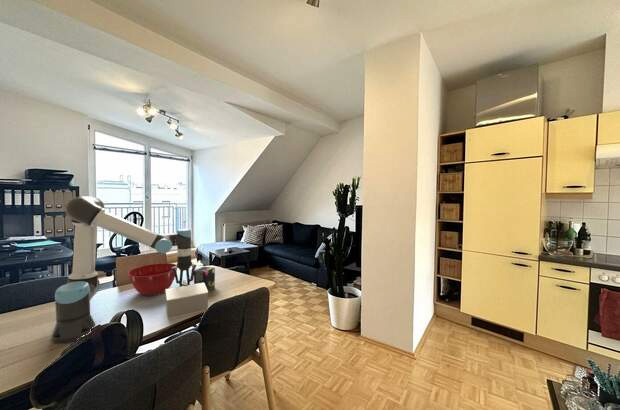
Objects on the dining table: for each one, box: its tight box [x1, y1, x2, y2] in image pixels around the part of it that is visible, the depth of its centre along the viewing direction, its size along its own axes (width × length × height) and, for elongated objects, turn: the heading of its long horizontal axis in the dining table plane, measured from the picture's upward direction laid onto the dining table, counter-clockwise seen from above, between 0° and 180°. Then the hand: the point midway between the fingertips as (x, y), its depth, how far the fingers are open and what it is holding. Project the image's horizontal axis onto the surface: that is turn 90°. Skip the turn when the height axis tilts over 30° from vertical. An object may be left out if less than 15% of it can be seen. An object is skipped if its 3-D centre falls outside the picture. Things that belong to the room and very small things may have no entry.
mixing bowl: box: [127, 262, 179, 297], centre depth 168 cm, size 28×28×15 cm
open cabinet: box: [165, 292, 209, 320], centre depth 144 cm, size 20×12×10 cm, turn 123°
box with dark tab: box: [165, 279, 209, 301], centre depth 146 cm, size 21×18×6 cm
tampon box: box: [193, 266, 216, 293], centre depth 172 cm, size 11×9×15 cm
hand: (184, 293), depth 153 cm, fingers closed on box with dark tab, 2 cm apart
